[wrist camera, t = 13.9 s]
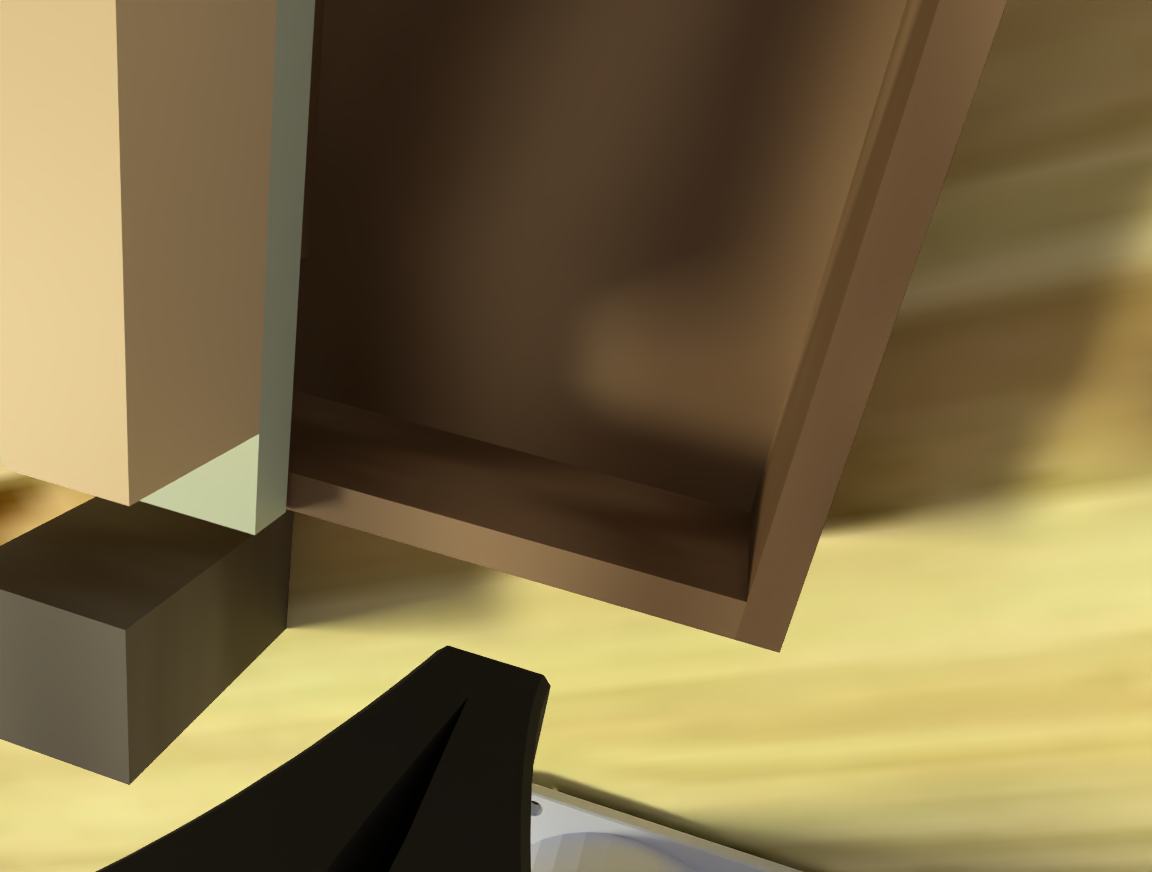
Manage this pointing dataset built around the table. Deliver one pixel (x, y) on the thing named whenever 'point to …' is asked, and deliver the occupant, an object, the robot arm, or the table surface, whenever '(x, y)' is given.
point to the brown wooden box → (613, 278)
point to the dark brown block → (130, 628)
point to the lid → (153, 248)
